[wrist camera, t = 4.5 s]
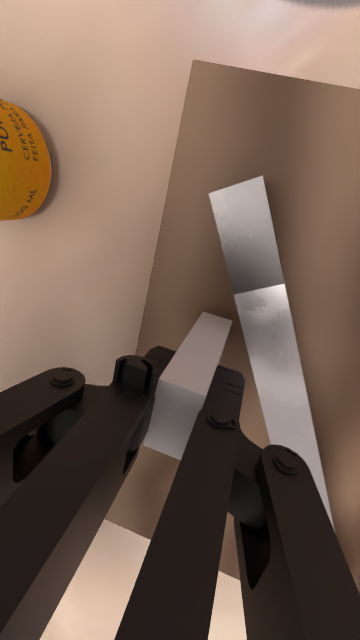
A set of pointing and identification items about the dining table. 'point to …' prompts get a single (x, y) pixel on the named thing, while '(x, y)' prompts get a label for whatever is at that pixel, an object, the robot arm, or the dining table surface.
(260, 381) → the arm
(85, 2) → the dining table surface
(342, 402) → the cutting board
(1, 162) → the beer can
